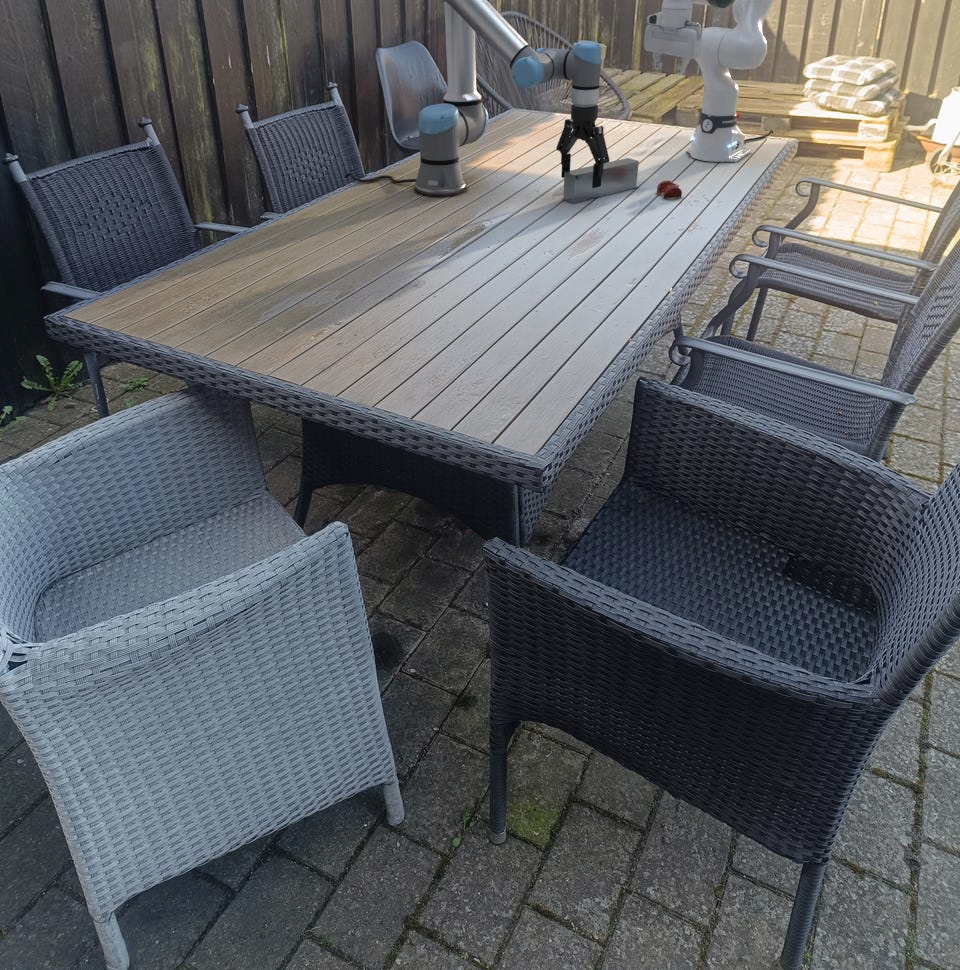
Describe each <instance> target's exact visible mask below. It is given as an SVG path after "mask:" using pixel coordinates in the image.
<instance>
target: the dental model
mask: <svg viewBox="0 0 960 970" xmlns="http://www.w3.org/2000/svg"><path fill="white" fill-rule="evenodd" d="M656 194H663V195H662V198H663V200H666V199H678V198H682V196H683V191H682V189H681V187H680V185H679V184H677V183H675V182H673V181H672V180H662V181H661V182H660V183H658V185H657V187H656Z"/></svg>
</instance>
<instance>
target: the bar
mask: <svg viewBox="0 0 960 970" xmlns="http://www.w3.org/2000/svg"><path fill="white" fill-rule="evenodd" d="M639 165H640V161H639V160H637V159H633V158H630V157H625V158H622V159H617V160H612V161H609V162H607V163H604V165H603V175H602V176H601V186H600V187H596V188H592V182H593V166H594V165H590V166H584V167H580V168H576V169H570V171H566V172H565V175H564V178H563V192H562V194H563V195H562V199H563V200H564V201H566V202H569V203H572V204H576V203H580V202H584V201H586V200H588V201H589V200H593V199H596V198H599V197H604V196H608V195H612V194H617V193H620V192H624V191H629V190H632V189H636V188H637V184H638V175H639V174H638V173H639Z"/></svg>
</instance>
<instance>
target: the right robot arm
mask: <svg viewBox="0 0 960 970" xmlns="http://www.w3.org/2000/svg"><path fill="white" fill-rule="evenodd" d="M774 2H775V0H663V1H662V4H661V8H660V9H661V10H660V11H659V12H656V13H653V14H650V15H647V18H646V23H647V25H646V27H645V32H644V38H643V47H644V48H643V49H644V50H645V51H647V52H652V58H653V62H654V67H653V69H654V70H662V69H663V62H662V61H661V58H660V57H661V55H662V54H663V55H669V56H674V57H679V58H681V62H682V63H681V64H680V66H678V67H677V74H679V75H684V74H685V73H686V70H687V67H688V65H689V64H690V63H691V60H693V59H694V60H695V62H696V63H697V65H698V67H699V69H700V72H701V75H702V80H703V97H702V106H701V110H700V112H699V116H698V126H696V127H695V128H694V133H693V136H691V137H690V141H692V142H691V146H690V148H688V149H687V153H688V154H689V155H690V157H691V158H692V159H696V160H697V161H698V160H699V161H702V162H703V161H704V162H711V163H712V162H713V163H714V162H715V163H725V162H728V163H730V162H731V163H736V162H738V161H740V160H741V159H743V158H744V157H745V156H748V154H750V149H748V148H747V147H745V146H744V144H745V143H746V142H750V141H756V140H760V139H761V140H762V139H764V138H767V137H769V136H770V135H771V134H774V130H773V129H771V130H770V131H769V132H768V133H767V134H763V135H761V136H757V137H750V138H745V134H744V133H743V132H742V131H741V129H740V128H739V126H738V120H741V118H742V114H743V113H742V112H738V111H737V106H738V100H739V93H740V88H739V84H738V83H737V82H736V81H735V80H734V79H733V78H732V76H731V74H730V70H729V69H735V70H740V71H743V70H754V69H757V68H759V67H760V66H761V65H762V63H763V62H764V61H765V59H766V56H767V54H768V42H767V39H766V37H765V35H764V33H763V25H764V22H765V19H766V17H767V15H768V13H769V12H770V10H771V8H772V6H773V4H774ZM731 4H732V8H731V14H732V17H733V19H734V21H735V22H736V23H737V24H736V26H735V27H734V28H727V27H720V26H711V27H704V28H703V26H702V25H701V23H700V22H697V21H692V16H693V8H694V5H700V6H701V5H702V6H711V7H713V8H714V7H715V8H720V9H726V8H728V7H729V6H731Z"/></svg>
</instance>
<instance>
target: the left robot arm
mask: <svg viewBox="0 0 960 970" xmlns="http://www.w3.org/2000/svg"><path fill="white" fill-rule="evenodd" d="M439 1H440V2H441V3H443V7H444V8H443V9H444V28H445V29H444V31H445V50H446V52H445V54H446V56H445V57H446V75H447V77H446V78H447V80H446V81H447V92H446V93H445V95H444V96H443V97H442V98H443V99H442V100H443V103H436V104H430V105H428V106H425V107H424V108H422V109H421V110H420V112H419V114H418V126H417V127H418V134H419V135H418V136H419V138H418V139H419V157H420V158H419V159H420V161H419V162H420V164H419V168H418V172H417V176H416V178H408V179H407V178H406V179H395V178H394V177H393V176H392V175H386V174H385V175H378V176H374V177H371V178H366V179H365V178H363V179H362V178H358V177H357V176H356V175H355V174H354V173H352V172H347V173H346V174H345V175H344V178H345V179H346V178H348V177H351V178H352V179H353V180H354V181H356V182H359V183H372V182H375V181H378V180H382V179H389V180H390V181H391V182H392V183H393V184H405V183H414V184H415V185H414V186H415V192H417V193H418V194H420V195H424V196H430V197H450V196H455V195H459V194H461V193H463V192H464V191H466V181H465V179H464V176H463V172H462V169H461V165H460V148H462V147H464V146H466V145H470V144H472V143H475V142H476V141H478V140H479V139H480V138H482V137H483V136H484V135H485V134H486V132H487V130H488V126H489V119H490V117H489V113H488V110H487V108H485V105H484V103H483V101H482V95H481V94H480V92H478V91H477V63H476V34H477V35H478V36H479V37H480V38H481V40H483V41H484V43H485V44H486V45H487V46H488V47H489V48H490V49H491V50H492V51H493V52H494V53H495V54H496V55H497V57H499V58H500V59H501V60H502V61H503V62H504V63H505V64H506V65H507V66H508V67H509V68H510V70H511V76H512V79H513V82H514V84H515V85H517V86H518V87H520V88H521V89H532V88H536V87H538V86H539V85H541V84H544V83H548V82H551V81H553V80H567V81H572V83H571V104H572V105H571V107H570V118H567V119H565V120H564V124H563V125H564V127H563V129H562V132H561V134H560V137H559V140H558V142H557V145H556V147H555V148H556V151H559V153H560V165H561V174H560V175H561V176H560V177H561V178H562V179H564V175H565V172H566V171H571V161H572V160H571V158H572V153H571V150H572V148H573V147H574V145H575V144H576V143H577V141H578V140H581V141H583V142H585V144H587V145H588V148H589V151H590V154H591V155H592V158H593V160H594V162H595V163H593V165H592V166H593V182H592V188H596V187H600V186H601V176H602V175H603V165H604V163H607V162H611V161H610V155H609V152H608V147H607V144H606V139H605V133H604V125H599V126H596V121H597V120H598V118H599V115H598V114H599V105H598V103H599V98H600V81H601V70H602V69H601V67H602V46H601V44H600V43H599V42H596V41H577V42H575V43H574V45H573V49H565V48H553V47H552V48H551V47H539V48H537V49H535V50H534V48H533V47H532V46H531V45H530V44H528V42H527V41H526V40H525V39H524V38H523V37H522V36H521V35H520V34H519V33H518V31H516V29H515V28H513V26H512V25H511V24H510V23H509V22H508V21H507V20H506V19H505V18H504V17H503V16H502V14H500V13H499V11H497V9H495V7H494V6H493V5H492V4H491V3H490V2H489V1H488V0H439Z"/></svg>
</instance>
